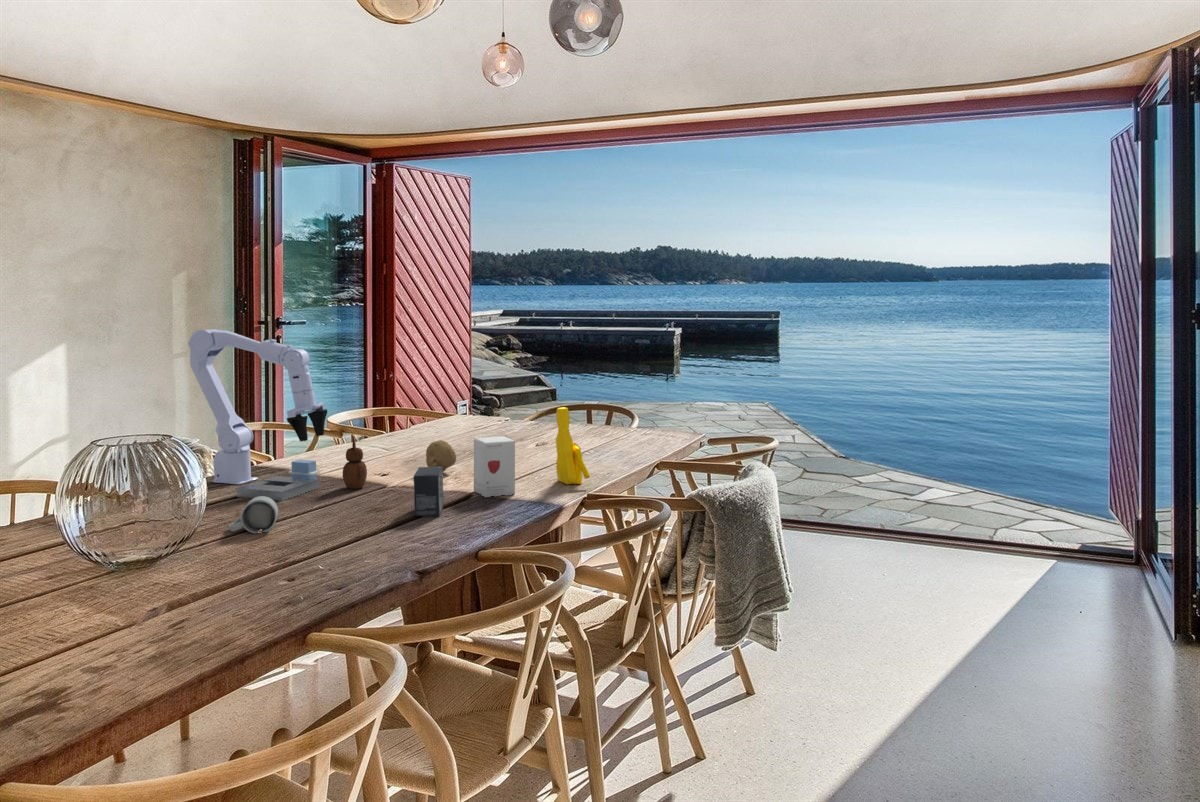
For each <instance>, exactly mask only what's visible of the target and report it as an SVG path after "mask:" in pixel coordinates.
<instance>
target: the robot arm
mask: <svg viewBox="0 0 1200 802" xmlns="http://www.w3.org/2000/svg"><path fill="white" fill-rule="evenodd" d="M187 345H188V347H189V348H190V349H189V351H190V352H189V365H190V368H191V370H192V372H193V374H194V376H195V378H196V380H197V382H198V385H199V387H200V388H201V389H200V390H202V393H203V395H204V397H205V399H206V401H207V404H208V406H209V408H210V410H211V412H212V413H213V416H214V418H215V420H216V422H217V423H216V428H215V432H216V434H217V443H218V446H219V447H220V450H218V451H217V452H216V453H215V455H214V458H213V471H214V472H213V473H214V477H213V478H214V479H213V480H212V482H213V483H217V484H218V483H220V484H230V485H243V484H246V483H250V482H252V481H256V480H258V479H259V478H258V476H252V470H251V469H252V467H251V447H250V445H251V443H252V442H253V441H254V432H253V430H252V429H251V427H249V426H247V424H246V423H245V420H244V419H243V418H241V417H240V416H238V415H237V413H236V411H235V409H234V406H233V405H232V403H231V400H230V398H229V396H228V394H227V392H226V390H225V388H224V386H223V384H222V381H221V379H220V377H219V376H218V373H217V372H216V369H215V367H214V363H215V360H216V359H217V356H219V354H220V353H221V352H222V351H223V350H224V349H225V348H227V347H232V348H236V349H240V350H245V351H248V352H252V353H255V354H257V355H258V357H259V358H260V359H261V360H263V361H265V362H270V363H273V364H276V365H279V366H281V367H282V366H283V367H284V368H285V370H287V373H288V379H289V385H290V388H291V394H292V398H293V404H294V408H292V409H289V410H287V411H286V415H287V418H286V421H287V423H288V424H289V425H290V426H291V427H292V428H293V431H294V432H295V434H296V436H297V437H298V439H299V442H306V441H308V429H307V428H308V427H307V424H308V423H307V422H308V417H309V419H310V421H311V423H312V427H313V431H314V433H315V435H316V437H322V436H324V435H325V422H326V418H327V415H328V409H326V406H325V402H324V401H321V402H316V397H315V392H314V388H313V381H312V377H311V373H310V372H311V371H310V368H309V364H310V361H311V357H310V354H309V352H308V351H307V350H305V349H303V348H302V347H297V348H293V345H291V344H288V345H285V344H282V343H278V342H277V339H273V338H272V339H266V340H264V341H262V342H261V341H258V340H255V339H252V338H251V337H247V336H245V335H242V334H238V333H236V332H233V331H231V330H225V329H220V328H211V329H197V330H195V331H194V332H193V333H192V334H191V337H190V339H189V340H188V342H187ZM306 414H307V415H306Z"/></svg>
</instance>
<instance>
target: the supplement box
mask: <svg viewBox="0 0 1200 802" xmlns="http://www.w3.org/2000/svg"><path fill="white" fill-rule="evenodd" d="M515 479H516V441H515V440H513V439H511V438H509V437H507V436H504V435H503V436H489V437H488V436H486V437H474V438H473V491H474V492H475V493H476V494H478V493H479V494H478V495H480V494H481V495H480V496H482V497H483V496H484V498H492V497H491V496H494V497H502V496H501V495H505V496H511V495H512V494H514V495H515V494H516V481H515Z"/></svg>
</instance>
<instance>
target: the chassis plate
mask: <svg viewBox="0 0 1200 802" xmlns="http://www.w3.org/2000/svg"><path fill="white" fill-rule="evenodd" d="M317 488H318V489H320V480H319V479H307V478H295V477H292V476H280V475H275V476H271V477H268V478H265V479H262V481H260V480H259V481H255V482H251V483H248V484H245V485H241V486H238V487H236V497H237V498H242V497H244V498H243V499H253V498H255V497H259V496H265V497H269V498H271V499H272V500H273V501H275V500H278V501H279V502H283V500H284V501H286V500H285V499H287V500H289V499H288V498H290V499H292V498H294V496H295V497H298V496H300V494H301V495H304V494H306V493H305V492H307V493H309V492H308V491H310V492H312V491H311V490H313V491H315V490H314V489H316V490H318V489H317ZM303 493H304V494H303ZM297 495H298V496H297ZM291 497H292V498H291Z"/></svg>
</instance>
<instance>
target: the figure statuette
mask: <svg viewBox="0 0 1200 802" xmlns="http://www.w3.org/2000/svg"><path fill="white" fill-rule="evenodd" d="M570 420H571V419H570V411H569V408H568V407H565V406H564V407H557V408H556V424H557V431H558V432H557V435H556V437H555V448H556V455H557V457H556V477H557V481H559V482H561V483H563V484H565V485H572V484H577V485H578V484H579V485H580V484H582V482H583V480H582V479H583V477H584V479H585V480H586V479H589V478H590V477H591V476H590V475H591V474H590V473H589V471H588V468H587V466H586V464H585V462H584V458H583V452H582V451H581V449H582V448H581V447H580V446H579V445H578V444H577V443H576V442H574V441H573V439H572V436H571V435H572V434H571V433H570V430H569V429H570V428H569V427H570Z"/></svg>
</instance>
